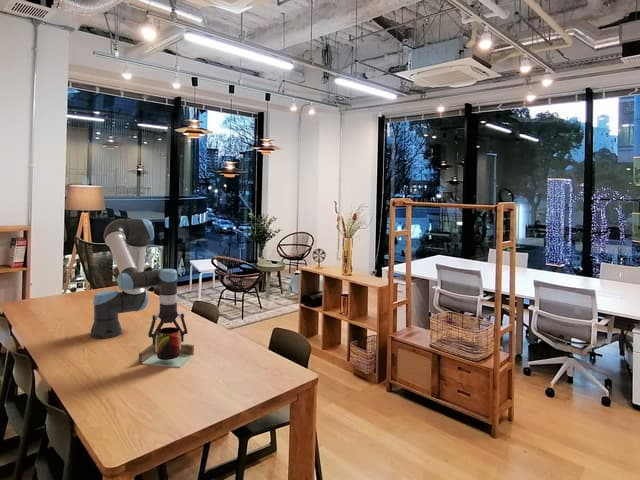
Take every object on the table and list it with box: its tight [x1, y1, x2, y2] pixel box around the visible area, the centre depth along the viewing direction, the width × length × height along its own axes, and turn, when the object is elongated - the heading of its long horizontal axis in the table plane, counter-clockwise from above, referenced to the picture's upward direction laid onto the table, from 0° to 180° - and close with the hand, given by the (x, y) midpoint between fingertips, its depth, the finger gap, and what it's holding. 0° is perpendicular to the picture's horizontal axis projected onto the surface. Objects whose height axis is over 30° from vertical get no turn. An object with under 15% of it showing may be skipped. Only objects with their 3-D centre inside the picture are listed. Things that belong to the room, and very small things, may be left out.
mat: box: [141, 352, 194, 369], centre depth 199 cm, size 18×14×1 cm
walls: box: [138, 343, 195, 365], centre depth 199 cm, size 20×16×5 cm
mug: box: [157, 326, 180, 360], centre depth 195 cm, size 10×14×12 cm
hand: (168, 349), depth 196 cm, fingers closed on mug, 10 cm apart
